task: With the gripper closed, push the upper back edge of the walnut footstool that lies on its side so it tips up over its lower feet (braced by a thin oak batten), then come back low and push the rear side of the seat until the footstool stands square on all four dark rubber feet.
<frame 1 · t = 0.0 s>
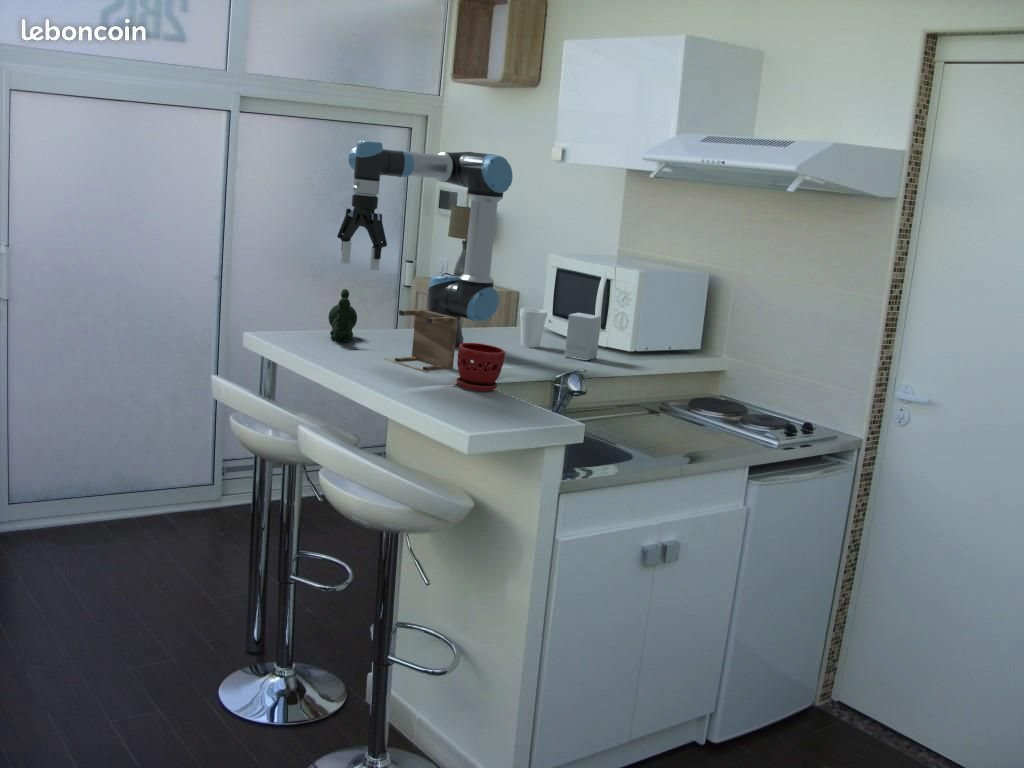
hand: (359, 266, 328), 28 cm above the counter, tool pointing down, fingers open, 13 cm apart
supplement box: (580, 358, 379), on the counter
oak batten: (405, 368, 328), on the counter
foam cup: (529, 347, 391), on the counter
toy figurine: (341, 339, 364), on the counter
footstool: (424, 340, 331), point 8 cm above the counter, hinge at 0.0°
plant pot: (477, 389, 312), on the counter
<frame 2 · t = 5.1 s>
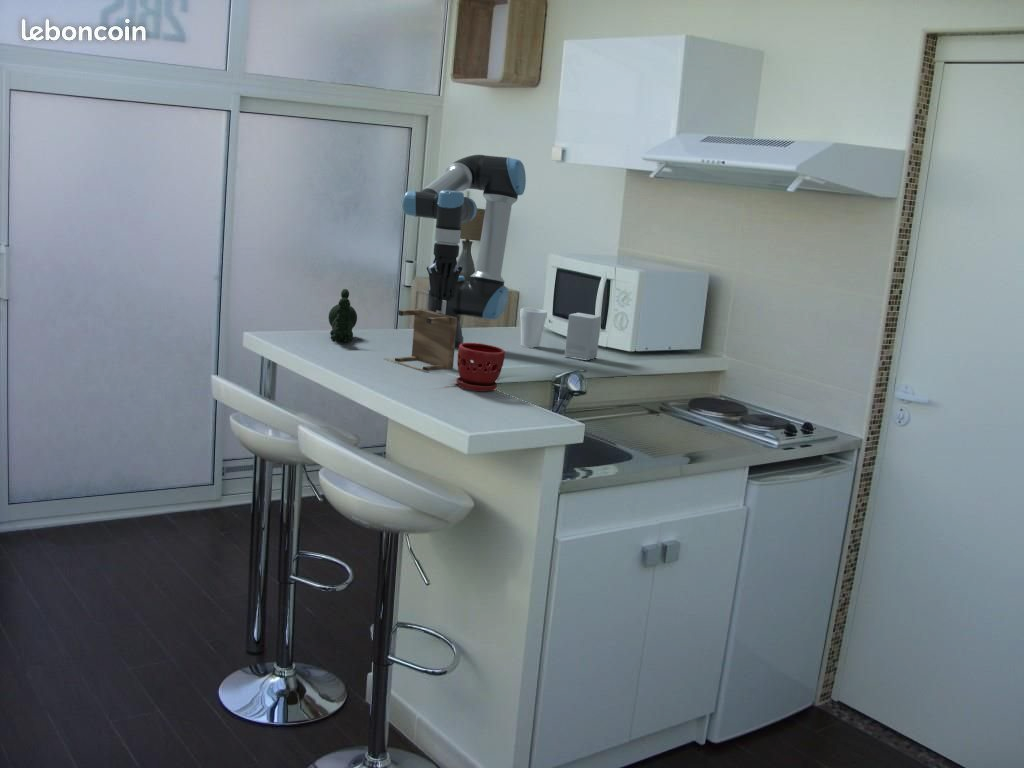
hand: (440, 321, 334), 14 cm above the counter, tool pointing down, fingers closed
footstool: (424, 340, 331), point 8 cm above the counter, hinge at 1.1°, touching gripper
everything else where it was.
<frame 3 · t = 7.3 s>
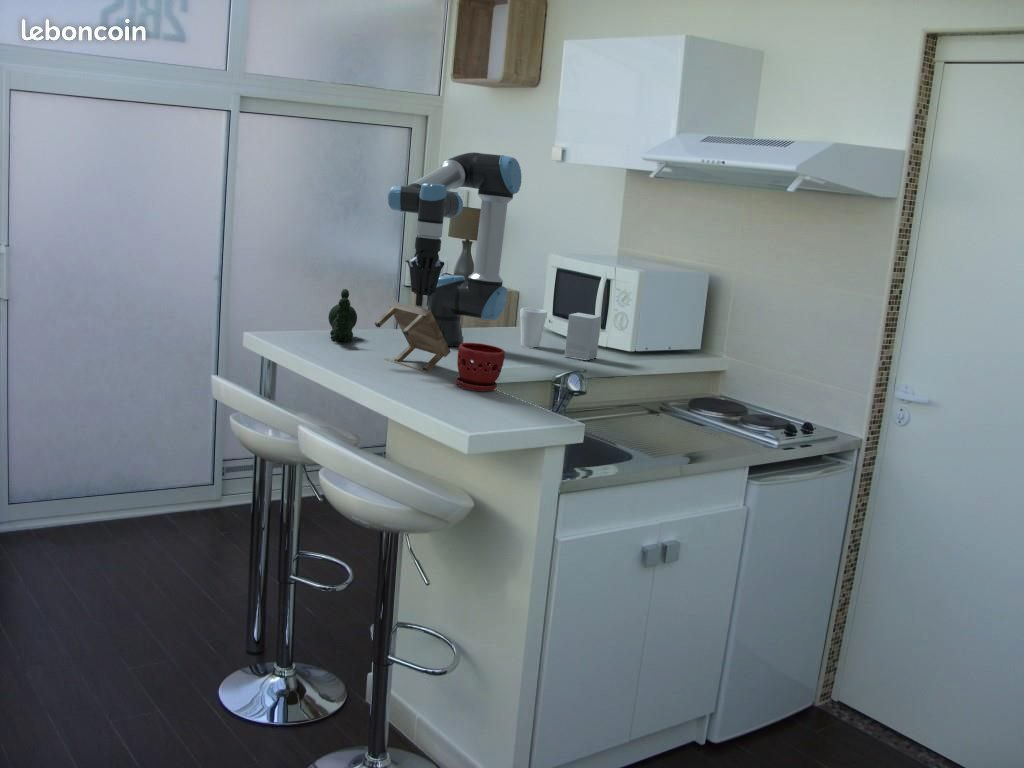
hand: (420, 316, 327), 16 cm above the counter, tool pointing down, fingers closed
footstool: (411, 337, 327), point 10 cm above the counter, hinge at 37.8°, touching gripper
everything else where it was.
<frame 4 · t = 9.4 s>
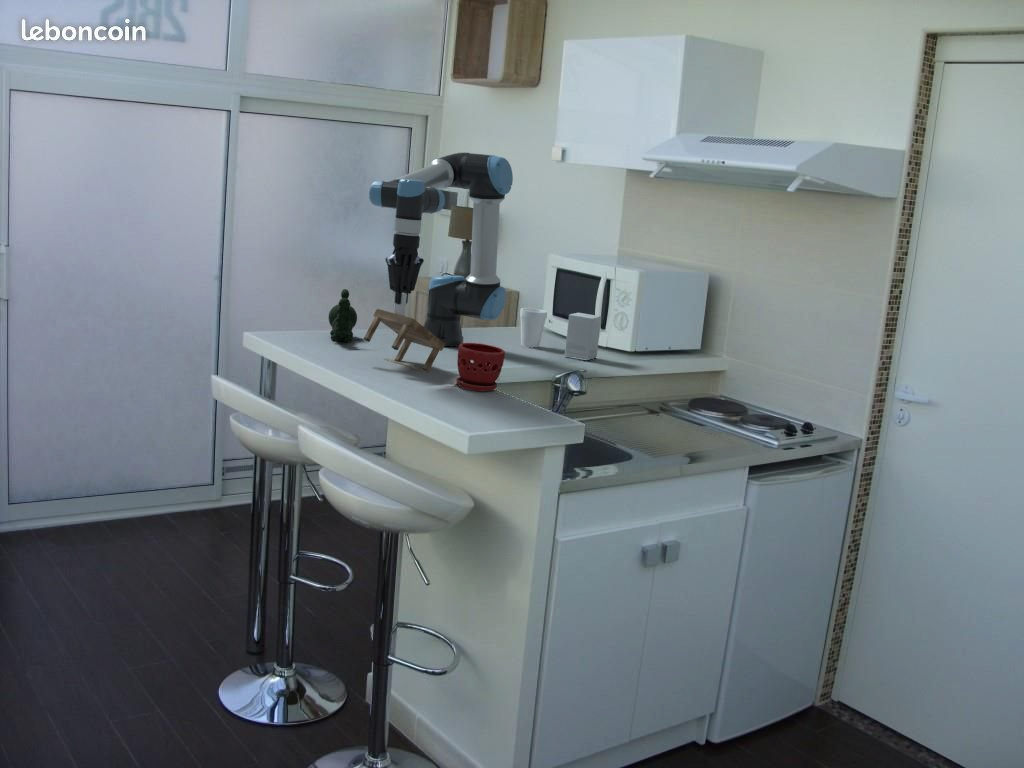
hand: (399, 314, 321), 16 cm above the counter, tool pointing down, fingers closed
footstool: (403, 341, 325), point 9 cm above the counter, hinge at 59.6°, touching gripper
everything else where it was.
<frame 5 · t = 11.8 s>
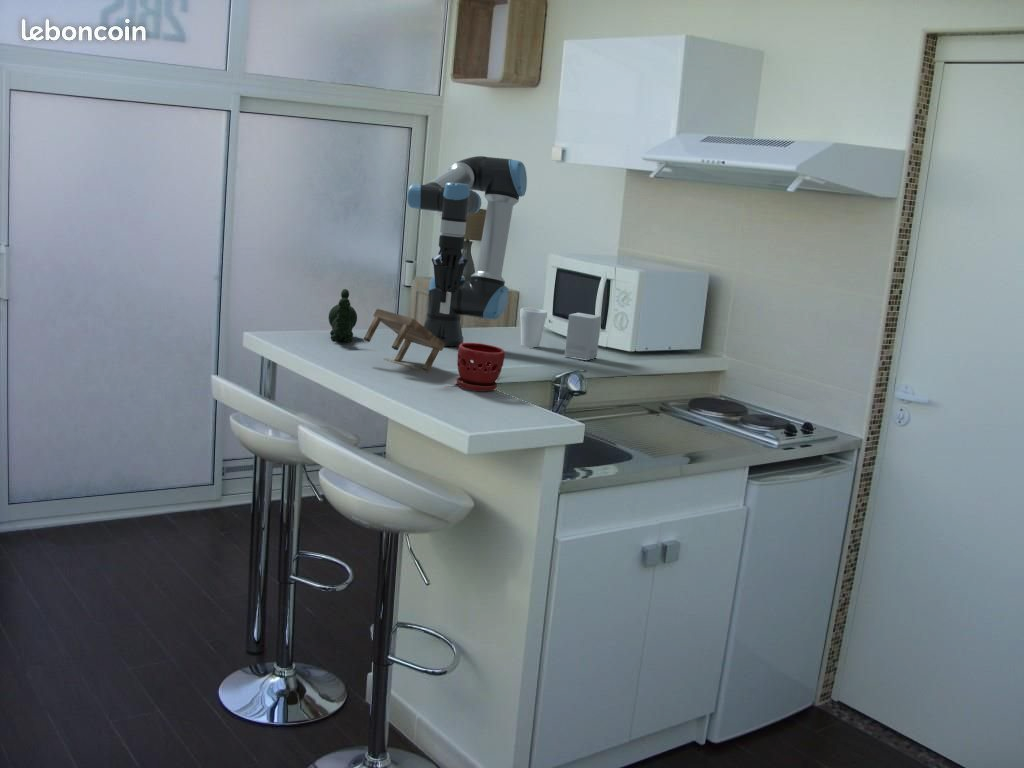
hand: (444, 313, 334), 16 cm above the counter, tool pointing down, fingers closed
footstool: (403, 341, 325), point 9 cm above the counter, hinge at 59.7°
everything else where it was.
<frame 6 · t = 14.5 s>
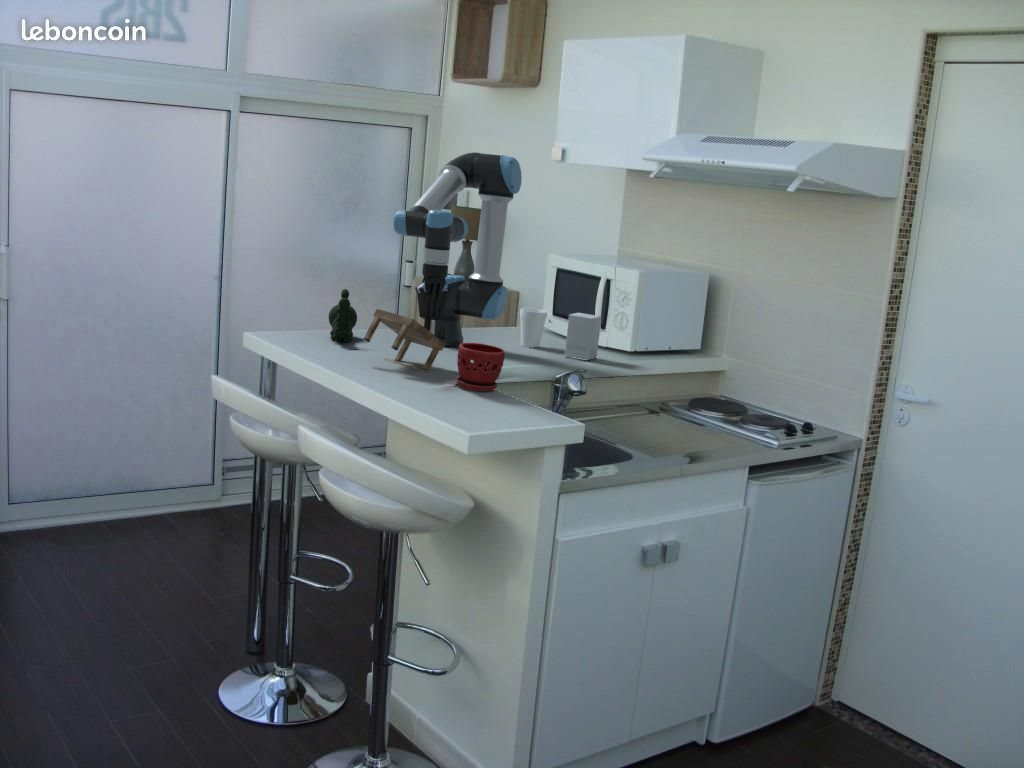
hand: (428, 341, 332), 8 cm above the counter, tool pointing down, fingers closed
footstool: (403, 341, 325), point 9 cm above the counter, hinge at 60.0°, touching gripper
everything else where it was.
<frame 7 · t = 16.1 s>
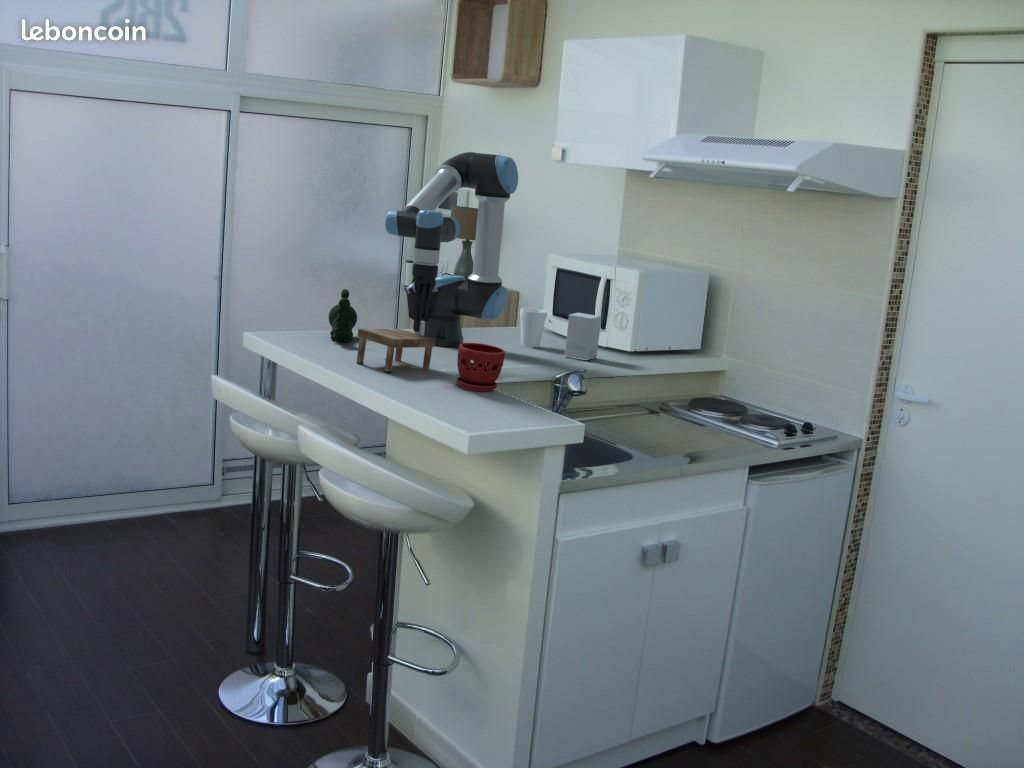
hand: (418, 342, 329), 8 cm above the counter, tool pointing down, fingers closed
footstool: (394, 350, 323), point 6 cm above the counter, hinge at 87.5°, touching gripper
everything else where it was.
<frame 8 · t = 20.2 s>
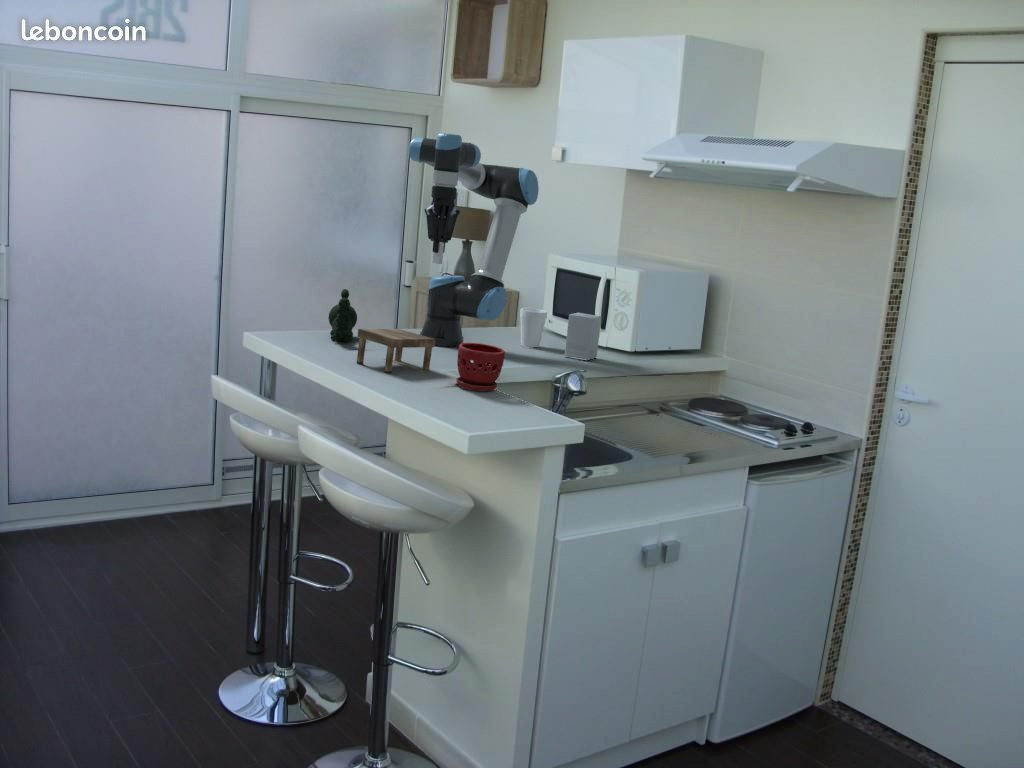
hand: (437, 263, 339), 30 cm above the counter, tool pointing down, fingers closed
footstool: (394, 350, 323), point 6 cm above the counter, hinge at 87.5°
everything else where it was.
at the end: footstool at +88° (first picture: +0°); footstool touching nothing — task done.
